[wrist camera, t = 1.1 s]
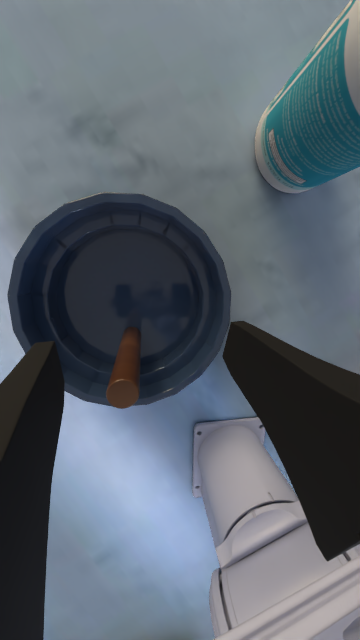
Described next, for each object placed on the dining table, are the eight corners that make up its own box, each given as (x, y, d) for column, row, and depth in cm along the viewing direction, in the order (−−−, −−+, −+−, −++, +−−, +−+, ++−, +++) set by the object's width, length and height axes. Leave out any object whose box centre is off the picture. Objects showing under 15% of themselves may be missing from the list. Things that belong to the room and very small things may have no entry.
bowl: (210, 374, 24) (225, 398, 19) (50, 384, 21) (26, 414, 17) (216, 213, 20) (236, 198, 16) (26, 204, 18) (-12, 185, 14)
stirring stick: (141, 343, 21) (139, 407, 12) (123, 343, 21) (106, 410, 11) (140, 326, 21) (139, 378, 11) (122, 326, 21) (104, 380, 11)
